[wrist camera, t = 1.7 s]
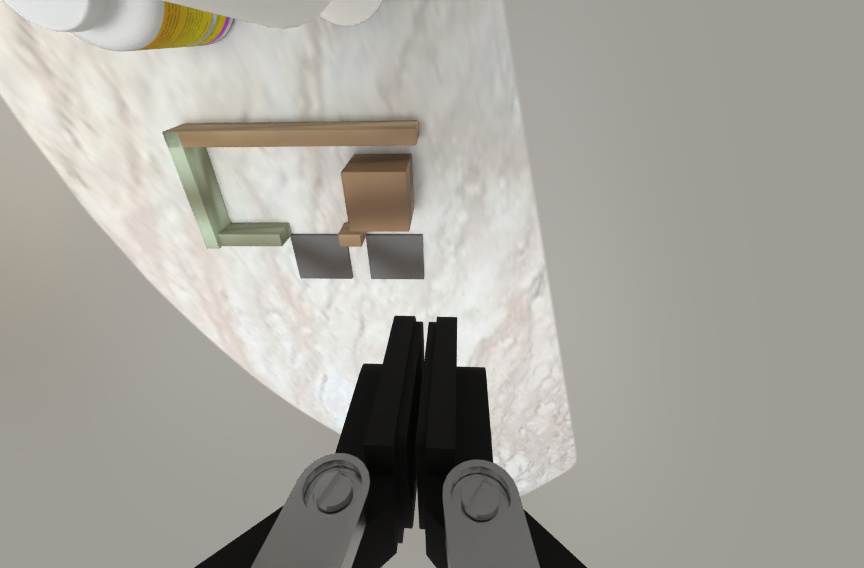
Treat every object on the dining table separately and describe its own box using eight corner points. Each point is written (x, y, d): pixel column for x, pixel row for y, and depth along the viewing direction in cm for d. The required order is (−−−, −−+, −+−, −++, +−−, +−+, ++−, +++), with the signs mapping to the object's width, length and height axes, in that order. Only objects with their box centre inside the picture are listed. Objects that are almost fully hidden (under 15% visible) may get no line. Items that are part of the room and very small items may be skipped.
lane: (183, 123, 33) (162, 131, 31) (418, 120, 32) (415, 129, 30) (237, 276, 42) (223, 292, 39) (423, 277, 41) (422, 294, 38)
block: (354, 154, 34) (340, 172, 30) (411, 153, 34) (405, 172, 30) (361, 207, 37) (349, 231, 33) (414, 207, 37) (409, 231, 33)
